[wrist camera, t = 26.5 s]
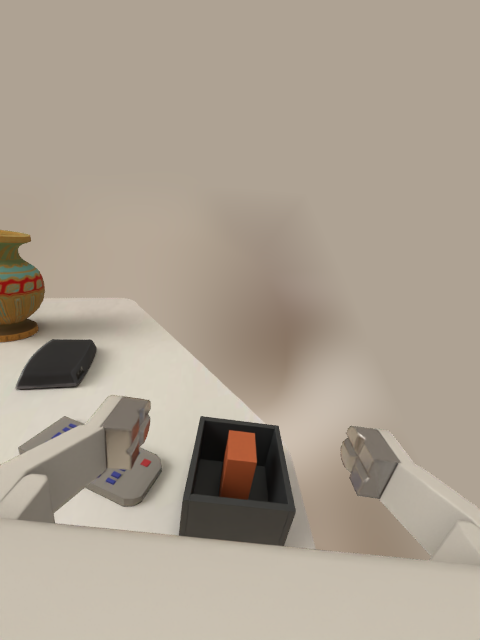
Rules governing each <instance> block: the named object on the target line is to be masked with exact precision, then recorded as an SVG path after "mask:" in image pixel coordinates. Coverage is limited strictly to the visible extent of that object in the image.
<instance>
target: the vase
mask: <svg viewBox="0 0 480 640" xmlns="http://www.w3.org/2000/svg"><path fill="white" fill-rule="evenodd" d="M30 241H31V238H30V235H28V234H24V233H19V232H12V231H4V230H0V342H7V341H14V340H19V339H23V338H27V337H29V336H32V335H34V334H35V333H37V331H38V325H37V323H36V322H35V321H32V320H29V319H27V318H28V317H29V316H31V315H32V314H33V313H34V312H35V311H36V310H37V309H38V308H39V307H40V305H41V303H42V301H43V298H44V293H45V289H44V281H43V278H42V276H41V274H40V272H39V271H38V269H37V268H35V267H34V266H32V265H31V264H29V263H28V262H26V261H24V260H23V259H22V258H21V257H20V256H19V253H18V248H19V246H20V245H22V244H24V243H27V242H30Z"/></svg>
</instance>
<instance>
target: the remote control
mask: <svg viewBox="0 0 480 640" xmlns="http://www.w3.org/2000/svg"><path fill="white" fill-rule="evenodd" d="M79 425H85V424H82V423H80V422H78V421H75V420H73V419H70V418H68V417H66V416H64V417H62V418H61V419H60V420H58V421H57V422H55V423H54V424H52V425H51V426H49V427H48V428H46V429H45V430H43V431H42V432H40V433H39V434H37V435H36V436H35V437H33V438H32V439H30V440H29V441H27V442H26V443H24V444H23V445H21V446H20V447H18V449H19V453H20V455H21V454H23V453H25V452H27V451H29V450H31V449H33V448H35V447H37V446H39V445H41V444H43V443H45V442H47V441H49V440H51V439H53V438H55V437H57V436H59V435H61V434H63V433H65V432H67V431H69V430H71V429H73V428H75V427H77V426H79ZM161 471H162V464H161V459H160V458H159V457H158V456H157V455H156V454H154V453H152V452H149V451H147V450H144V449H142V448H139V455H138V457H137V459H136V461H135V463H134V465H133V467H132V469H131V470H124V469H112V468H106V470H105V471H104V472H103V473H102V474H100V475H99V476H98V477H97V478H96V479H94V480H93V481H92V482H91V483H90V484H88V485H87V486H86V487H85V488H87V489H89V490H91V491H93V492H95V493H97V494H99V495H101V496H103V497H105V498H107V499H110V500H112V501H114V502H116V503H118V504H120V505H122V506H124V507H125V506H134V505H136V504H137V503H139V502H141V501H142V499H143V498H144V496H145V495H146V493H147V492H148V490H149V489H150V488H151V486H152V485H153V483H154V482H155V480H156V479H157V477H158V476H159V474H160V473H161Z"/></svg>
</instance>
